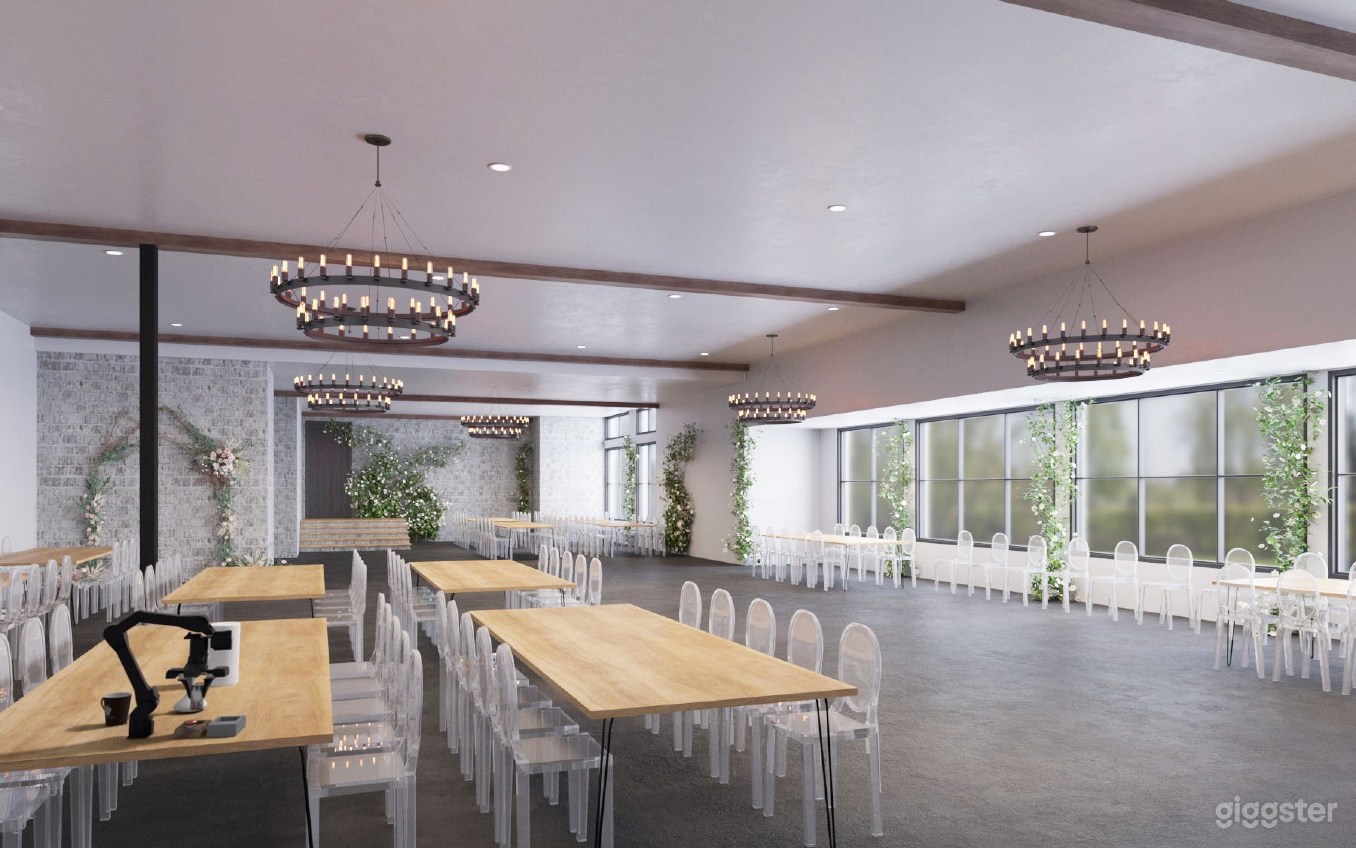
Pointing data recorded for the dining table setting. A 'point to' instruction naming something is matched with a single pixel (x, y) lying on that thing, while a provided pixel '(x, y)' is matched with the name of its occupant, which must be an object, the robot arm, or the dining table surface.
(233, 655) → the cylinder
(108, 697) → the coffee mug
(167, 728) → the dining table surface
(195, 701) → the peg
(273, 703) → the dining table surface
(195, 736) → the socket block
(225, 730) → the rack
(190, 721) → the pin
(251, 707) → the dining table surface
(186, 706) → the flower in vase
